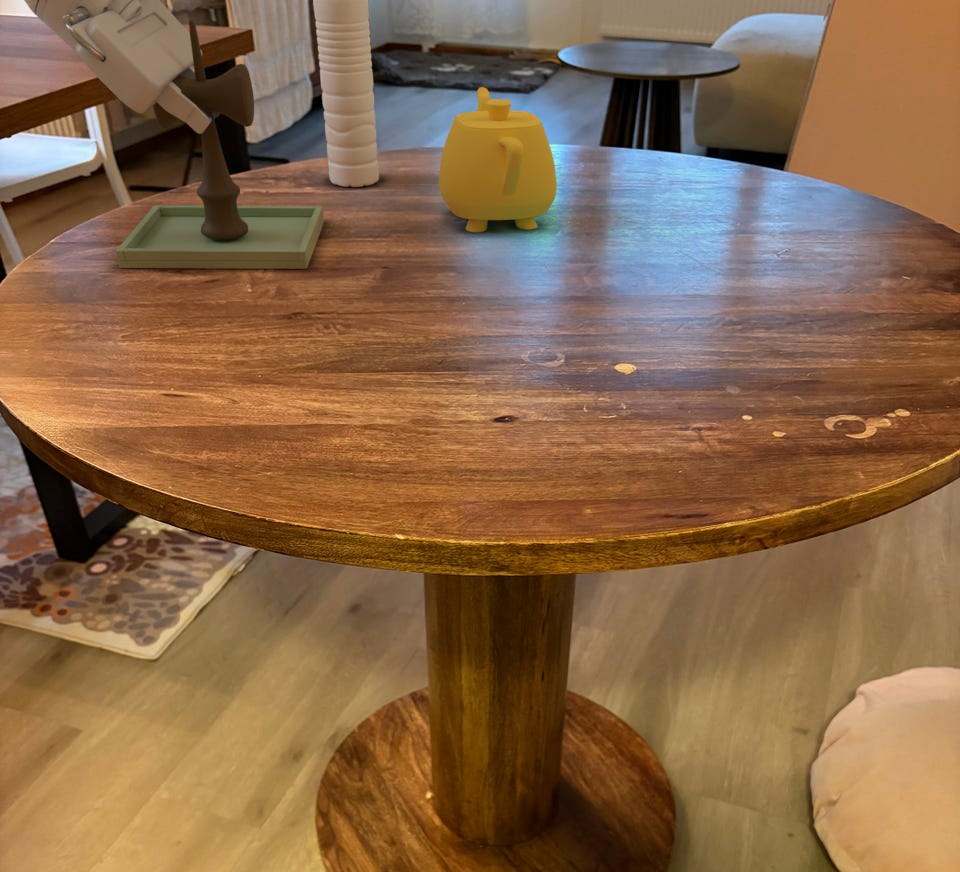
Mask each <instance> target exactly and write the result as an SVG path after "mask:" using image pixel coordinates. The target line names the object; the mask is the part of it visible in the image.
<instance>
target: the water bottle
mask: <svg viewBox="0 0 960 872" xmlns="http://www.w3.org/2000/svg"><path fill="white" fill-rule="evenodd" d="M312 5H313V12H314V19H315V28H316V30H315V33H316V43H317V51H318V60H319V61H318V65H319V68H320V69H319V75H320V76H319V78H320V87H321V90H322V93H321V100H322V107H323V109H324V111H323V119H324V121H325V123H324V132H325V140H326V142H327V143H326V153H327V159H328V162H327V163H328V165H327V167H328V177H329V181H330V182H331V184H333V185H337V186H339V187H345V188H348V187H352V188H361V187H365V186H366V187H368V186H372V185H374V184H375V183H377V182H379V179H380V170H379V160H378V143H377V128H376V112H375V109H374V108H375V94H374V91H373V90H374V75H373V69H372V67H373V63H372V53H371V52H372V51H371V50H372V46H371V37H370V36H371V30H370V21H369V19H370V7H369V0H312Z"/></svg>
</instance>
